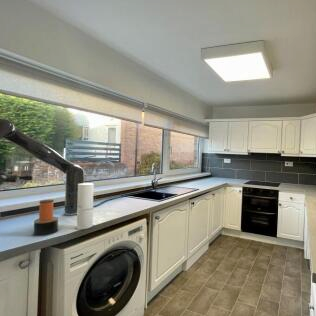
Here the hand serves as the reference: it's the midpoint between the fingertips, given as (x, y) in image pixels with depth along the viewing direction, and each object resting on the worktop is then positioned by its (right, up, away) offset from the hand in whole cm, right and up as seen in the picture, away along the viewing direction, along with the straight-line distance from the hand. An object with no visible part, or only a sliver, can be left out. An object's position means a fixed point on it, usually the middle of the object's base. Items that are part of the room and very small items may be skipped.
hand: (24, 179), depth 102 cm
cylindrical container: (+23, -29, +11) cm, 39 cm away
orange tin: (+10, -22, +1) cm, 24 cm away
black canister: (+10, -29, +2) cm, 30 cm away
